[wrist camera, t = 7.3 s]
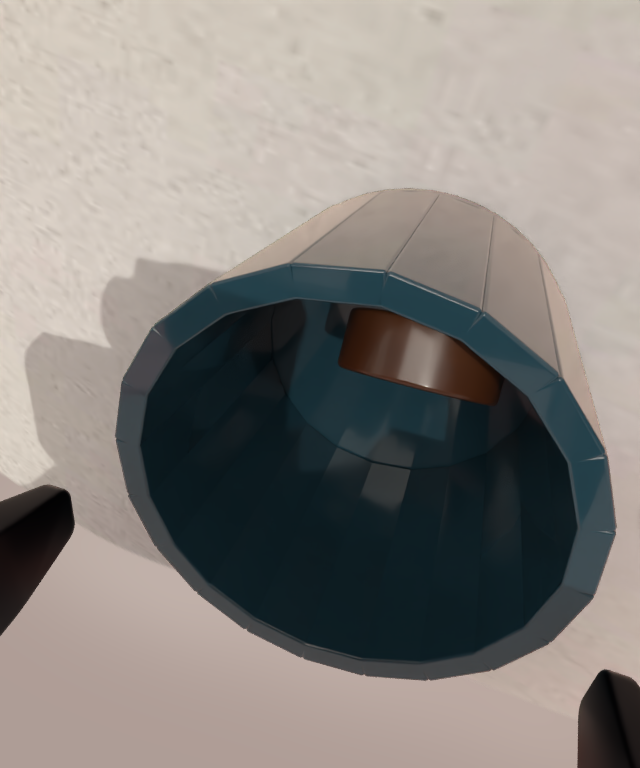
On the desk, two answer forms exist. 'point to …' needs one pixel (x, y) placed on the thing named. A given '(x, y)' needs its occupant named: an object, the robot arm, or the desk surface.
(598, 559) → the crock
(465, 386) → the brown disc handle
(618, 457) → the desk surface
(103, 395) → the desk surface
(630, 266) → the desk surface
